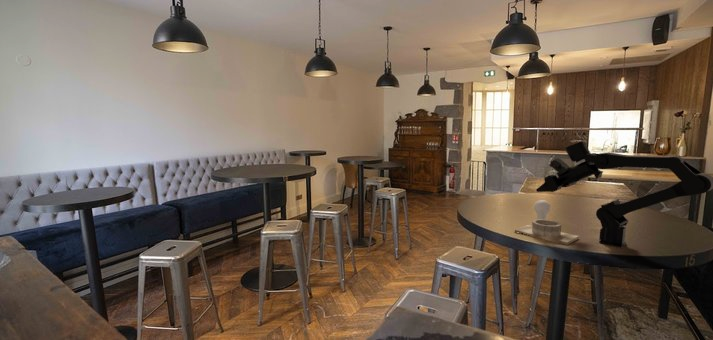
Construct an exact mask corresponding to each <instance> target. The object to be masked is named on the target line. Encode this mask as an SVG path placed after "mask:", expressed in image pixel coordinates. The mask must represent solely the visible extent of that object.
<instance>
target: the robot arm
mask: <svg viewBox="0 0 713 340" xmlns="http://www.w3.org/2000/svg"><path fill="white" fill-rule="evenodd" d="M564 150H565V152H566V154H567V155H568V157H569V159H570V161H571V162H573V163H575V164H576V165H573V166H570V165H568V164H567V162H565V161H564V160H562V159H561V158H559V157H557V158H554V159H553V160H552V161H550V163H549V165H548V166H549V167H550V168H552V169H554V170H555V171H556V175H555V174H550V175H547V176H544V178H543V179H544V182H543V183H542V184H541V185H540V186H538V187H537V188H536V189H535V191H536V193H543V192H544V193H547V192H548V193H554V192H557V191H559V190H562V188H568V187H571V186H574V185H577V184H578V182H582V181H583V180H585V179H587V178H589V177H591V176H594V178H595V179H601V178H602V176H603V173H604V171H602V170H608V169H618V168H643V169H644V168H646V169H666V170H667V169H668V170H670V171H671V172H672V173H673V174H674V175H675V176H676V177H677V178H678V179H679V181H678V182H677V183H674V184H673V185H672V186H669V187H666V188H664V189H661V190H658V191H655V192H651V193H649V194H645V195H643V196H640V197H636V198H634V199H631V200H628V201H624V202H620V199H615V200H613V201H610V202H606V203H603V204H600V207H599V208H597V209H596V212H595V214H596V215H595V216H596V218H597V219H598V221H599V222H600V224H601V228H600V230H599V237H598V238H599V242H598V243H601V244H605V245H610V246H612V247H613V246H615V247H619V248H622V247H623V246H625V245H626V244H627V241H625V240H626V232H627V227H626V226H627V225H628V223H629V220H628V219H627V218H626V217H625V216H626V215H627V214H630V213H632V212H635V211H638V210H641V209H644V208H645V209H646V208H647V207H651V206H654V205H657V204H660V203H664V202H666V201H670V200H673V199H676V198H682V197H683V198H684V197H689V196H696V195H701V194H705V193H707V192H709V191H712V190H713V176H712V175H711V174H707V173H705V172H702V171H700V170H699V169H698V168H697V167H694V166H693V165H692V164H690V163H688V162H687V161H686V160H685V159H684V158H683V157H681V156H677V155H675V156H652V155H651V156H646V155H645V156H644V155H641V156H640V155H638V156H637V155H626V154H620V153H616V152H615V153H614V152H610V151H609V152H608V151H607V152H602V153H601V152H600V153H597V152H591V151H590V149H589V148H588V146H587V144H586V142H585V141H584V140H581V141H579V142H576V143H574V144H570V145H568V146H567V147H565V148H564Z"/></svg>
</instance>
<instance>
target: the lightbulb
mask: <svg viewBox="0 0 713 340" xmlns="http://www.w3.org/2000/svg"><path fill="white" fill-rule="evenodd" d="M551 208H552V207H551V204H550V203H549V202H548V201H546V200H545V199H543V200H542V199H540V200H537V201H536V202H535V203H534V205H533V209H534V211H535V214H536V220H539V219H541V220H542V219H543V220H547V215H548V214H549V213H550V211H551Z"/></svg>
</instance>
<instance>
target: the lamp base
mask: <svg viewBox="0 0 713 340" xmlns="http://www.w3.org/2000/svg"><path fill="white" fill-rule="evenodd" d="M516 232H519V233H518V234H520V233H523V234H522V235H524V234H527V235H526V236H528V235H530V236H529V237H532V236H533V237H532V238H536V237H537V239H540V238H541V240H544V239H545V241H549V242H553V241H554V243H557V242H558V243H557V244H562V245H566V246H567V245H570V244H572V243H574V242H575V241H577V240H579V239H580V236H579V235H576V234H572V233H567V232H562V224H561V222H559V221H555V220H550V219H546V220H543V219H542V220H541V219H539V220H538V219H534V220H532V224H527V225H524V226H521V227H519V228H516V229H514V233H516Z"/></svg>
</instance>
